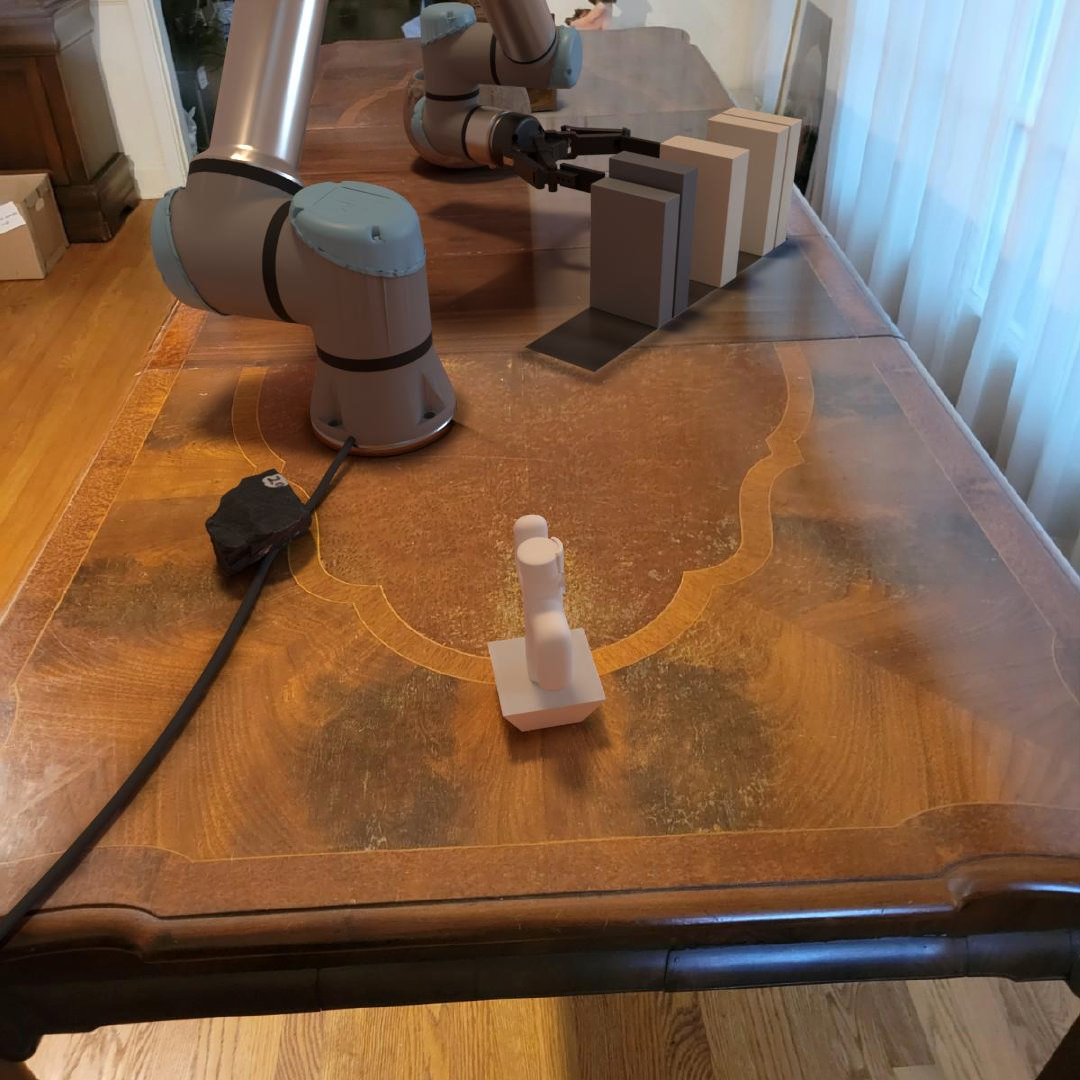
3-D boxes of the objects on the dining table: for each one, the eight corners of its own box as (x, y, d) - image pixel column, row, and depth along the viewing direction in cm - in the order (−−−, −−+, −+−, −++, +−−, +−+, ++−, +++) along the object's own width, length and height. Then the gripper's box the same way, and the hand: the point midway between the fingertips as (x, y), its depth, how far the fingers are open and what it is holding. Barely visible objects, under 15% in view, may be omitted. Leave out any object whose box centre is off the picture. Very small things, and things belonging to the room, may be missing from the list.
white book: (720, 288, 124) (732, 158, 114) (653, 269, 129) (660, 143, 118) (736, 277, 126) (749, 149, 116) (669, 259, 131) (677, 135, 121)
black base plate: (594, 381, 109) (594, 372, 108) (524, 356, 114) (524, 346, 113) (788, 246, 136) (789, 238, 135) (725, 230, 141) (726, 222, 140)
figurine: (508, 763, 68) (496, 604, 59) (487, 666, 75) (474, 511, 66) (609, 745, 69) (614, 587, 60) (579, 651, 76) (579, 497, 67)
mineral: (189, 534, 89) (173, 482, 85) (281, 497, 93) (269, 446, 89) (234, 594, 82) (219, 540, 79) (331, 552, 87) (320, 499, 83)
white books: (762, 256, 131) (778, 132, 121) (697, 240, 136) (707, 119, 126) (785, 241, 135) (802, 119, 125) (721, 225, 140) (733, 107, 130)
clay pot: (404, 186, 158) (393, 87, 149) (412, 146, 175) (403, 54, 165) (534, 182, 159) (531, 83, 149) (530, 142, 175) (528, 50, 165)
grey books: (658, 328, 115) (666, 183, 105) (589, 306, 120) (590, 166, 110) (687, 308, 119) (698, 166, 109) (619, 288, 124) (623, 150, 114)
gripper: (561, 144, 145) (684, 171, 135) (447, 193, 130) (575, 228, 120) (561, 90, 140) (688, 114, 130) (443, 134, 125) (575, 165, 115)
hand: (634, 169), depth 125 cm, fingers open, 13 cm apart
